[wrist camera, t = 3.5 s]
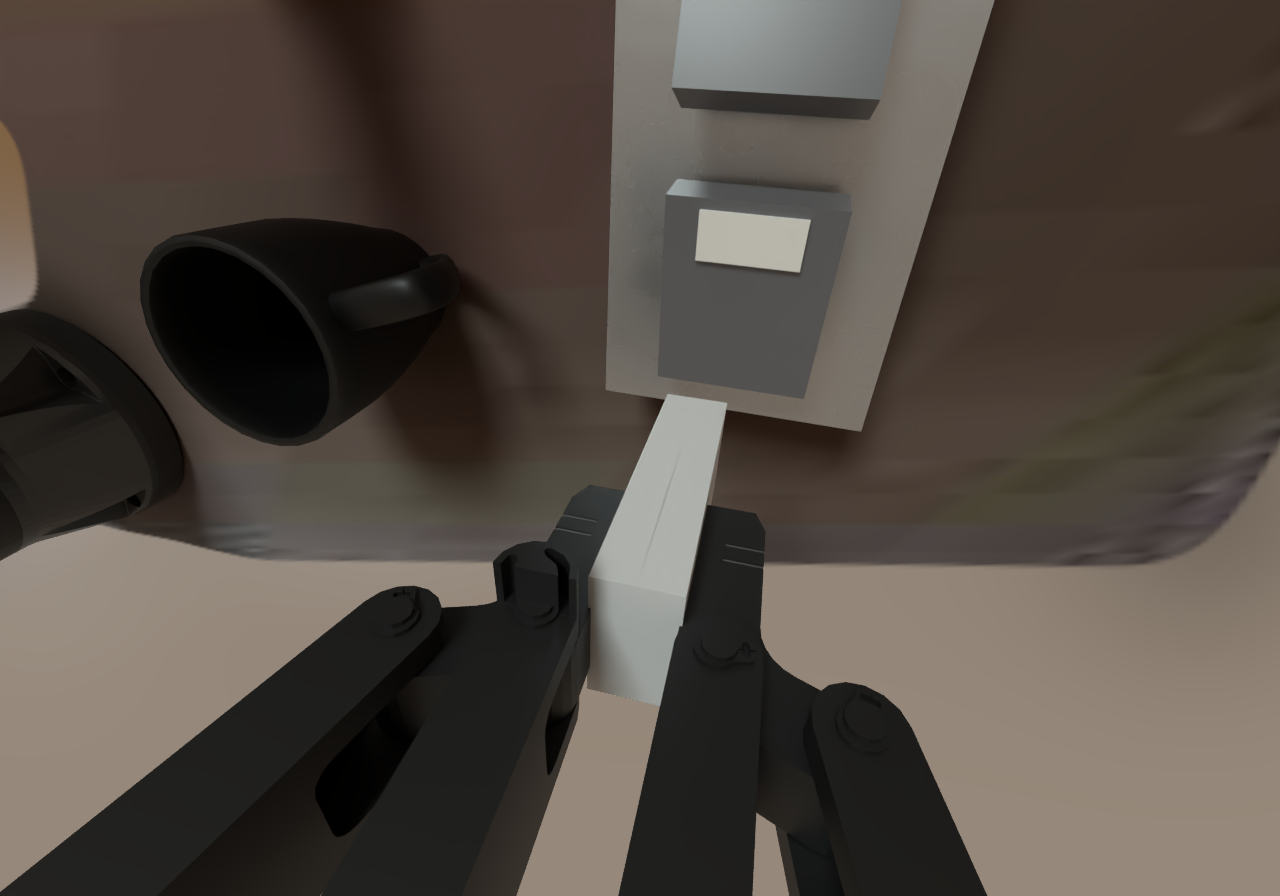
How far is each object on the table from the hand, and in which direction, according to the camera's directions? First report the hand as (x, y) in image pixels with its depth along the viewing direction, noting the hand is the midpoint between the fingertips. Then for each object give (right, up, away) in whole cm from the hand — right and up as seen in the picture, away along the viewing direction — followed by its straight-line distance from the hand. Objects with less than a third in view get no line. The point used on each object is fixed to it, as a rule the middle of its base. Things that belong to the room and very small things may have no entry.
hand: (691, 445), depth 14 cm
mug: (-12, +8, +13) cm, 20 cm away
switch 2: (+2, +5, +3) cm, 6 cm away
